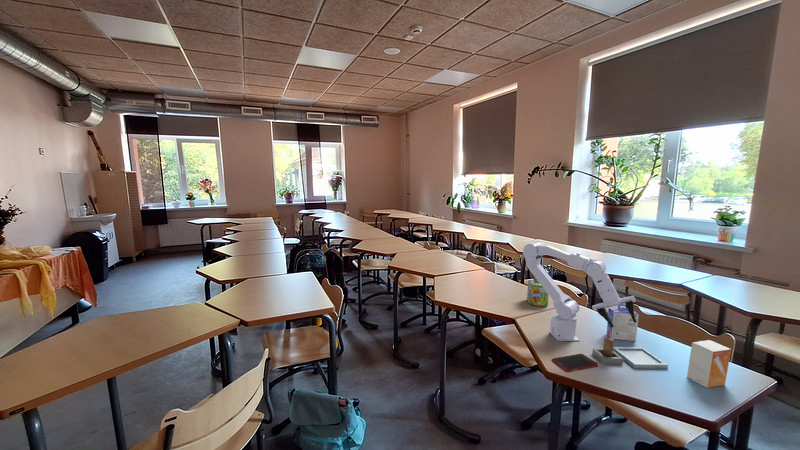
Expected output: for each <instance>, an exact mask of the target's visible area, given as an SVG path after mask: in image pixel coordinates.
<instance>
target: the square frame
mask: <svg viewBox="0 0 800 450" xmlns="http://www.w3.org/2000/svg"><path fill="white" fill-rule="evenodd" d="M602 354H603V348H599V347H598V348H597V347H595V348H592V355H593V356H594V357H595V358H596V359H598V361H600V363H602V364H604V365H623V364H624V359H623V358H622V357H621V356H619V355H618V354H617V353H616V352H614V351H613V357H605V356H604V355H602Z"/></svg>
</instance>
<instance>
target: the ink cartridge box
mask: <svg viewBox="0 0 800 450" xmlns="http://www.w3.org/2000/svg"><path fill="white" fill-rule="evenodd" d="M621 306H622V307H621ZM607 313H608V316H609V318H610V319H611V321H612V323H613V325H614V327H611V326H610V324H609V323H608V322H606V324H607V325H606V335H607V337H610V338H612V339H614V340H623V341H632V342H637V335H638V325H639V315H640V313H638V312H637V311H635V310H634V316H635V319H636V323H634V321H633V319H632V317H631V315H630V313H629V311H628V309H627V307H626V303H625V304H621V305H617V308H616V307H615V308H614V307H613V308H612V307H608V310H607Z"/></svg>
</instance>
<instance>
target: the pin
mask: <svg viewBox="0 0 800 450" xmlns="http://www.w3.org/2000/svg"><path fill="white" fill-rule="evenodd" d="M614 347H615V339H612V338H610V337H609V336H605V337H604V338H603V346H602V349H603V354H602V355H604V356H605V357H613V348H614Z"/></svg>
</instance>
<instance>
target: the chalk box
mask: <svg viewBox="0 0 800 450" xmlns="http://www.w3.org/2000/svg"><path fill="white" fill-rule="evenodd" d="M533 278H534V279H532V280H528V282H527V292H526V300H527V302H528V304H529V305H530V306H538V307H546V306H547V307H548V304H549V297H550V296H549V294H548V293H547V292H546V290H545V289H544V288H543V287H542V285H541V284H540V283H539V281H538V280H537V279H536V278H535V276H533Z"/></svg>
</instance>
